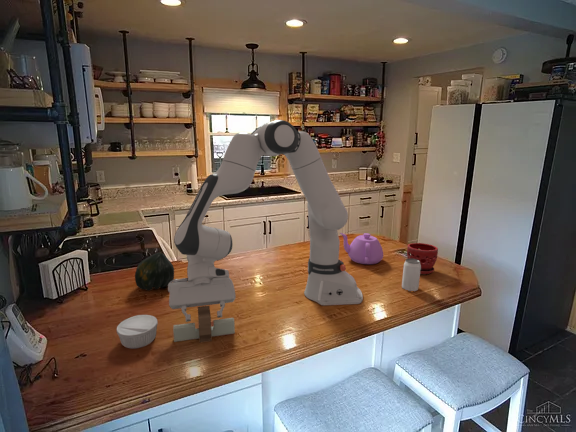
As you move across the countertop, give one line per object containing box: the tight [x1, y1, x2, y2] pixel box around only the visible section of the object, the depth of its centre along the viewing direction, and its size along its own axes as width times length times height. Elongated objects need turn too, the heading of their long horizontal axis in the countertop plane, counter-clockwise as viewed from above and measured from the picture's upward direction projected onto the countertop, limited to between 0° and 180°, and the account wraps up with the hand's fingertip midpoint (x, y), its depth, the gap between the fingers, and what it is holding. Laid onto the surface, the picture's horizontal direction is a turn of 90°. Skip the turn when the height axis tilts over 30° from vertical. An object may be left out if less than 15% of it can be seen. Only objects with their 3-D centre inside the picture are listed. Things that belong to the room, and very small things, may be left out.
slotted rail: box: [172, 317, 236, 343], centre depth 105 cm, size 18×2×4 cm, turn 106°
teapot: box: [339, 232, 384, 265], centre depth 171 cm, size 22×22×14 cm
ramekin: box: [116, 314, 159, 349], centre depth 103 cm, size 11×11×5 cm
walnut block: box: [197, 305, 213, 343], centre depth 105 cm, size 7×4×8 cm, turn 16°
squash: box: [134, 252, 175, 291], centre depth 137 cm, size 14×15×15 cm
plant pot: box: [406, 242, 439, 275], centre depth 158 cm, size 13×13×12 cm
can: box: [401, 258, 421, 292], centre depth 140 cm, size 6×6×12 cm
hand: (204, 319), depth 105 cm, fingers open, 8 cm apart
